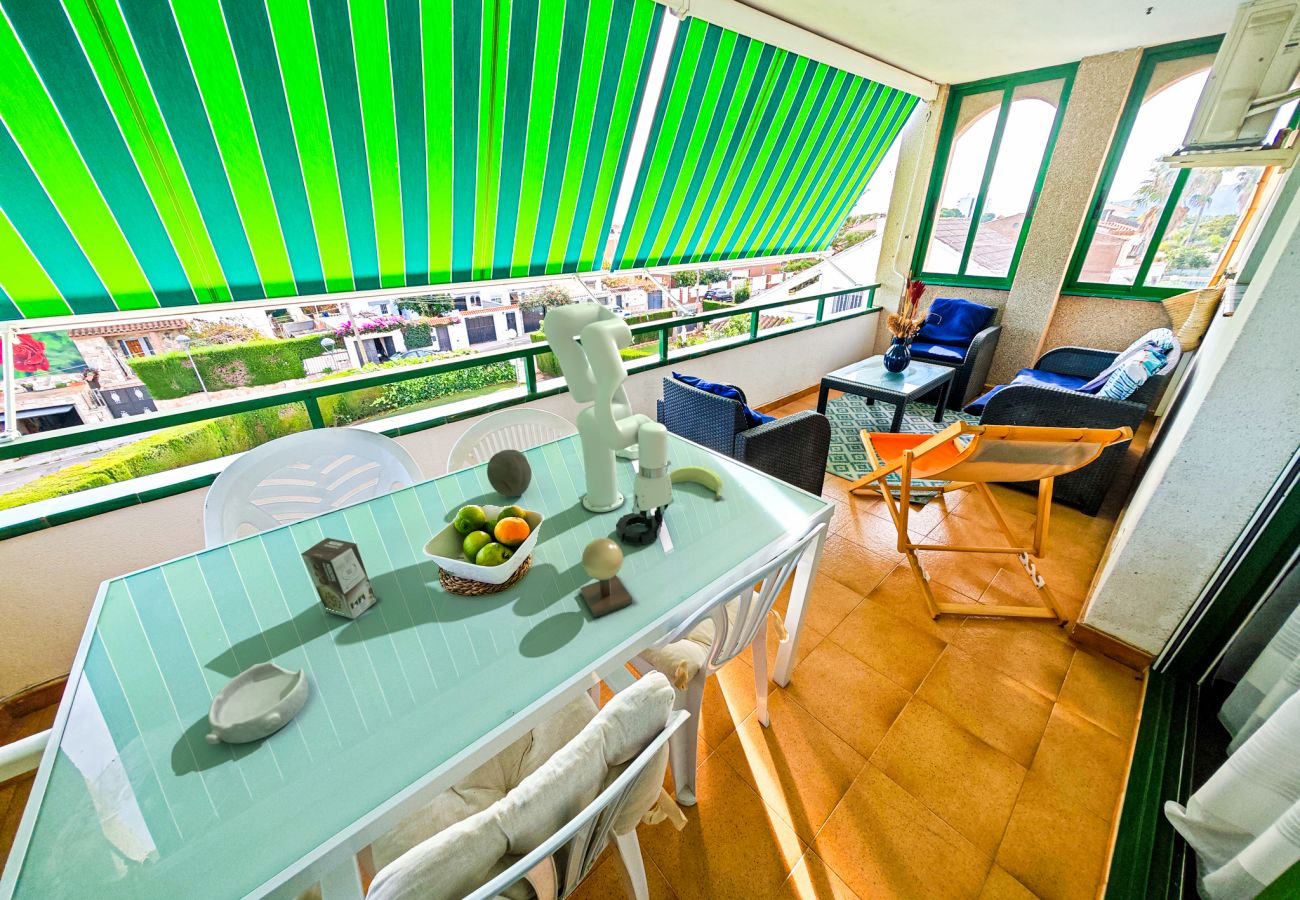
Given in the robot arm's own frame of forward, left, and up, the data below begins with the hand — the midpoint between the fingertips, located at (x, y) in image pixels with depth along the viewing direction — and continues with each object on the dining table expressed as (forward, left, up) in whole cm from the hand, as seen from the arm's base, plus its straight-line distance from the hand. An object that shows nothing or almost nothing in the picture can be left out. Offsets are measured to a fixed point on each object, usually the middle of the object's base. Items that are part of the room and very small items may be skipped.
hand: (653, 526), depth 129 cm
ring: (0, -5, 0) cm, 5 cm away
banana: (-13, +24, -1) cm, 27 cm away
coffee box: (-8, -74, -1) cm, 75 cm away
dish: (+15, -86, -1) cm, 88 cm away
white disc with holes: (-53, +17, -1) cm, 56 cm away
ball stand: (+19, -22, -1) cm, 29 cm away
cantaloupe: (-42, -30, -1) cm, 51 cm away
